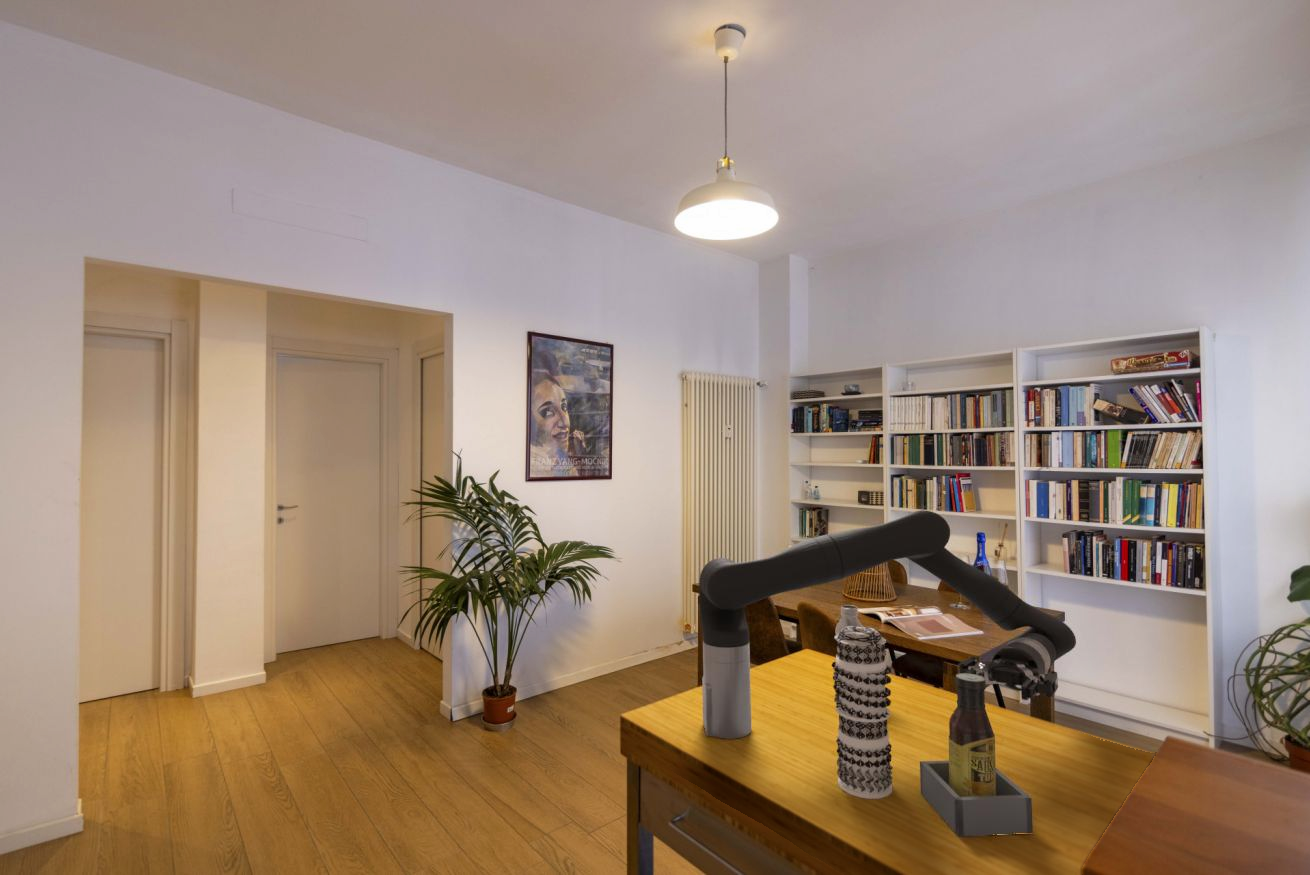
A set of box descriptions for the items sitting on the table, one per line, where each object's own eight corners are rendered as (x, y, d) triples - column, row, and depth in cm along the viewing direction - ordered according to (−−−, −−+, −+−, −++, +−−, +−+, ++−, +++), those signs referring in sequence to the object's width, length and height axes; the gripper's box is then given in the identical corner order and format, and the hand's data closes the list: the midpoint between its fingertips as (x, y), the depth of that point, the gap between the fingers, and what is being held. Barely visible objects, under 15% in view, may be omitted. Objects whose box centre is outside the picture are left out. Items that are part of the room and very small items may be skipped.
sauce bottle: (978, 829, 90) (973, 687, 90) (940, 808, 95) (935, 674, 96) (1007, 817, 93) (1002, 679, 94) (969, 797, 98) (964, 668, 99)
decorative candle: (888, 806, 96) (883, 640, 97) (828, 790, 101) (823, 632, 102) (900, 780, 104) (895, 626, 105) (844, 767, 109) (839, 620, 110)
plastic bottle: (867, 693, 143) (864, 604, 144) (867, 704, 136) (864, 611, 137) (837, 690, 145) (835, 602, 146) (836, 701, 139) (833, 609, 140)
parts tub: (958, 837, 88) (957, 800, 88) (920, 793, 100) (919, 761, 100) (1033, 834, 88) (1031, 797, 88) (986, 791, 100) (985, 759, 100)
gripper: (978, 635, 119) (947, 655, 108) (1067, 648, 109) (1043, 673, 98) (980, 675, 119) (949, 700, 107) (1069, 692, 109) (1046, 722, 97)
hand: (994, 687), depth 103 cm, fingers open, 8 cm apart
